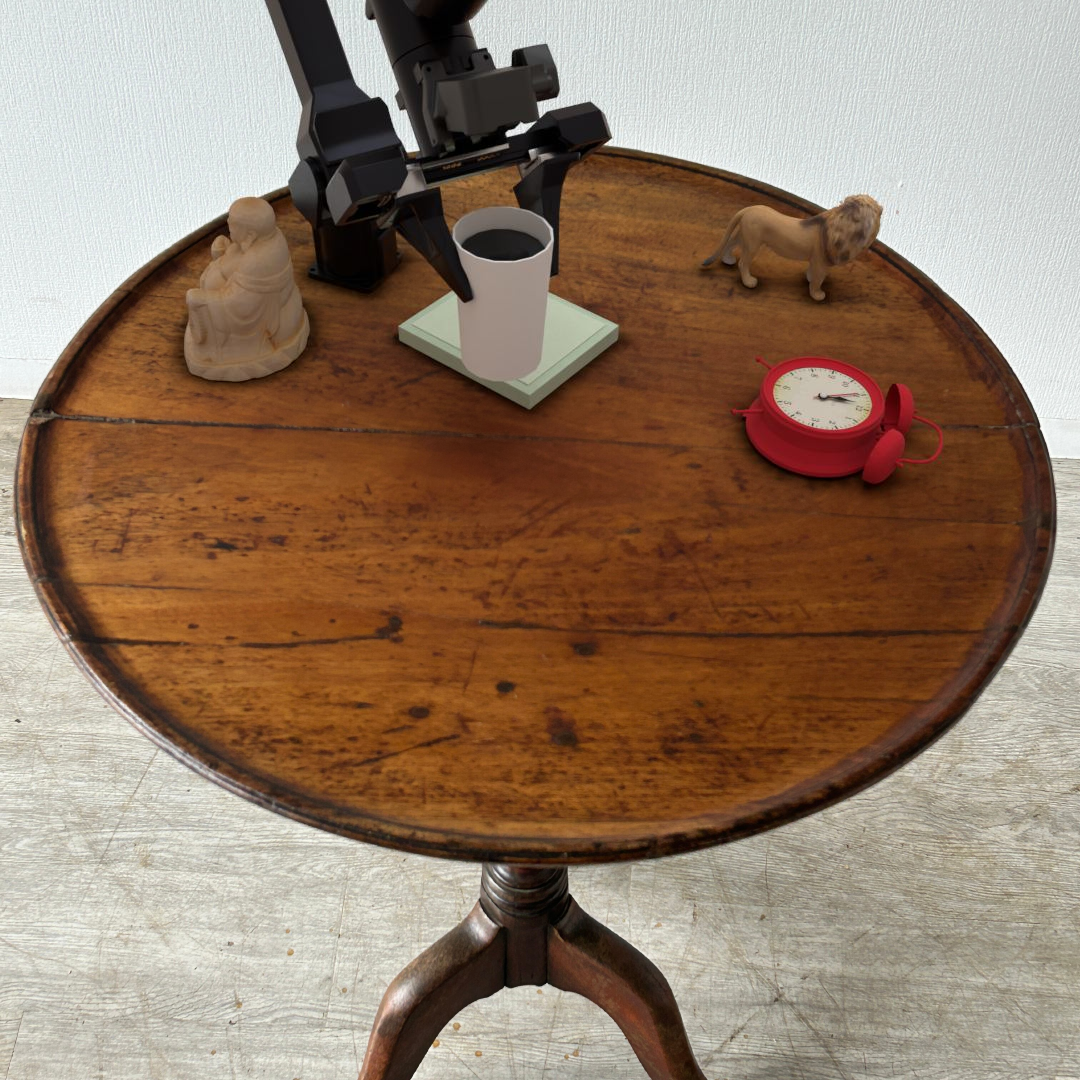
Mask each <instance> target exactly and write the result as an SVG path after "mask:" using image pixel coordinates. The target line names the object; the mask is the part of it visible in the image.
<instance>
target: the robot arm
mask: <svg viewBox="0 0 1080 1080" xmlns="http://www.w3.org/2000/svg"><path fill="white" fill-rule="evenodd" d="M488 2H489V0H365V3H364V15H365V18H366V19H367V20H368V21H374V20H375V22H376V25H377V28H378V31H379V34H380V37H381V40H382V43H383V46H384V50H385V52H386V56H387V57H388V61H389V64H390V66H391V69H392V70H391V71H392V72H393V75H394V79H395V81H396V84H397V87H398V90H397V92H396V93H395V95H394V99H395V101H396V104H397V107H398V110H399V112H401V111H406V114H407V117H408V120H409V123H410V126H411V130H412V131H413V135H414V139H415V142H416V144H417V147H418V150H419V151H418V152H417V153H416V154H415V156H414V159H409V153H408V151H407V150H406V147H405V146H404V143H403V142H402V140H401V139H400V137H399V136H398V134H397V132H396V129H395V126H394V123H393V121H392V117H391V113H390V109H389V106H388V105H387V103H386V102H385V100H384V99H383V98H381V96H375V97H370V95H368V94H367V92H365V91H364V90H363V89H362V88H360V87H359V86H358V84H357V83H356V81H355V78H354V75H353V72H352V70H351V65H350V64H349V61H348V59H347V57H348V56H347V54H346V51H345V49H344V46H343V43H342V41H341V37H340V35H339V31H338V29H337V28H338V27H337V25H336V23H335V20H334V17H333V15H332V12H331V9H330V6H329V2H328V0H264V3H265V6H266V8H267V12H268V14H269V17H270V20H271V23H272V26H273V28H274V30H275V34H276V36H277V39H278V43H279V45H280V48H281V51H282V53H283V56H284V59H285V62H286V65H287V68H288V71H289V73H290V76H291V79H292V82H293V84H294V87H295V90H296V93H297V97H298V98H299V102H300V105H301V114H300V119H299V125H298V129H297V136H296V141H295V148H296V151H297V155H298V158H299V162H298V164H297V165H296V167H295V168H294V170H293V172H292V174H291V175H290V177H289V179H288V180H287V184H288V188H289V189H288V190H289V192H290V196H291V200H292V204H293V206H294V208H295V209H296V210H297V211H298V213H300V214H301V215H302V217H303V218H304V219H305V220H306V221H307V222H308V223H309V225H311V231H312V232H311V233H312V238H313V246H314V254H315V261H314V262H313V263H312V264H311V265H310V266H309V267H308V268H307V269H306V272H307V275H308V277H310V278H314V279H316V280H321V281H324V282H328V283H331V284H335V285H339V286H342V287H345V288H349V289H353V290H357V291H359V292H364V293H370V292H372V291H373V290H374V289H375V288H376V287H378V285H380V283H381V282H383V280H384V279H385V278H386V277H387V276H388V275H389V274H390V273H391V272H392V270H394V268H395V267H396V266H397V265H398V264H399V263H400V262H401V261H402V260H403V258H404V257H403V256H404V255H403V252H402V251H400V250H398V244H397V243H398V242H397V234H398V235H399V236H400V237H401V238H402V239H404V240H405V241H406V242H407V243H408V244H409V245H410V246H411V247H412V248H413V249H414V250H415V251H417V253H419V254H420V255H421V257H422V258H423V259H424V260H425V261H426V262H427V263H428V264H429V265H430V266H431V268H433V270H434V271H435V272H436V273H437V275H439V276H440V278H441V279H442V280H443V281H444V283H446V284H447V286H448V287H449V289H450V290H451V291H452V290H453V291H454V293H455V294H456V295H457V296H458V297H459V298H460V300H461V301H462V302H463V303H468V302H470V301H472V300H473V294H472V291H471V287H470V283H469V279H468V277H467V275H466V273H465V271H464V269H463V267H462V265H461V261H460V257H459V254H458V251H457V248H456V246H455V243H454V241H453V235H452V233H451V231H450V228H449V226H448V224H447V221H446V218H445V214H444V207H443V200H442V199H443V197H442V190H441V186H439V185H444V184H448V183H451V182H455V181H460V180H464V179H468V178H471V177H475V176H479V175H483V174H487V173H491V172H495V171H500V170H503V169H507V168H511V167H515V166H516V168H517V171H518V174H519V177H520V179H521V180H520V181H518V182H517V183H516V184H515V185H514V186H513V187H512V191H513V194H514V196H515V199H516V201H517V204H518V208H519V209H524V210H528V211H531V212H533V213H535V214H537V215H539V216H540V217H542V218H544V219H545V220H546V221H547V222H548V224H549V225H550V226H551V227H552V228H553V237H554V242H553V251H552V261H551V270H550V279H553V278H555V277H556V276H558V275H559V272H560V271H559V270H560V211H561V201H562V193H563V187H564V184H565V180H566V177H567V174H568V172H569V171H570V170H571V169H572V168H574V167H575V166H577V165H580V164H581V163H583V162H584V161H585V160H587V159H588V158H589V157H590V156H592V155H593V154H594V153H595V152H597V151H598V150H599V149H601V148H602V147H603V146H604V145H606V144H607V143H608V142H609V141H611V140H612V139H613V134H612V132H611V128H610V126H609V122H608V119H607V116H606V113H605V112H604V111H602V110H601V109H600V108H599V107H598V106H597V105H596V104H595V103H593V102H592V101H585V102H582V103H581V102H580V103H577V104H573V105H569V106H564V107H560V108H556V109H551V110H547V111H546V112H545V113H544V114H542V115H541V117H540V112H539V105H538V103H540V102H545V101H549V100H554V99H557V98H559V94H560V91H561V86H560V78H559V72H558V68H557V65H556V63H555V60H554V57H553V55H552V52H551V50H550V47H549V44H548V43H539V44H534V45H529V46H524V47H519V48H514V49H513V50H511V51H512V52H511V60H510V61H511V62H510V63H511V65H508V66H504V67H498V68H497V66H496V65H495V62H494V59H493V56H492V54H491V53H490V52H489V50H488V47H481V48H479V47H478V43H477V42H476V39H475V36H474V33H473V29H472V26H471V23H470V21H471V20H473V19H474V18H475V17H476V16H477V15H478V14H479V13H480V12H481V10H482V9H483V8H484V7H485V5H486V4H487V3H488ZM532 123H533V124H532ZM521 124H523V125H528V124H532V125H531V126H530V127H528V128H527V130H526V131H525V132H523V133H518V134H513V135H509V136H507V132H508V131H512V130H515V129H516V128H517V127H518V126H519V125H521Z"/></svg>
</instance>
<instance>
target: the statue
mask: <svg viewBox="0 0 1080 1080" xmlns="http://www.w3.org/2000/svg"><path fill="white" fill-rule="evenodd" d="M226 222H227V224H228V230H229V232H230V233H229V237H230V239H231V241H232V243H231V241H230V239H229V238H228V237H227V236H225V235H224V234H220V235H218V236H217V237H216V238H215V239H214V240H213V242H212V244H211V250H210V253H211V257H212V259H213V260H212V261H211V262H210V263H209V265H207V266H206V267H205V269H204V271H203V272H202V273H201V275H200V277H199V288H197V287H195V288H190V289H188V290H187V291H186V295H185V303H186V306H188V322H187V325H186V328H185V332H184V338H183V342H184V343H183V345H184V346H183V355H184V359H185V361H186V367H187V368H188V371H189V373H190V374H191V375H193V376H196V377H200V378H202V379H205V380H209V381H225V382H243V381H249V380H251V379H259V378H264V377H267V376H269V375H271V374H273V373H275V372H278V371H281V370H283V369H285V368H287V367H288V366H289V365H291V364H292V362H293V361H295V360H297V359H299V356H301V354H302V353H303V352H304V351H305V350H306V347H307V343H308V337H309V335H310V332H311V328H310V321H309V315H308V313H307V311H306V308H305V307H303V299H302V294H301V291H300V289H299V287H298V285H297V283H296V282H295V273H294V265H293V262H292V258H291V257H292V256H291V252H290V251H289V245H288V242H287V239H286V237H285V235H284V234H283V232H282V230H281V229H280V228H279V227H278V226H277V225H276V214H275V211H274V209H273V207H272V206H271V204H270V203H269V202H268V201H266V200H265V199H263V198H261V197H257V196H244V197H240V198H237V199H236V200H234V201H233V202H232V203H231V204H230V206H229V208H228V218H227V221H226Z"/></svg>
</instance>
